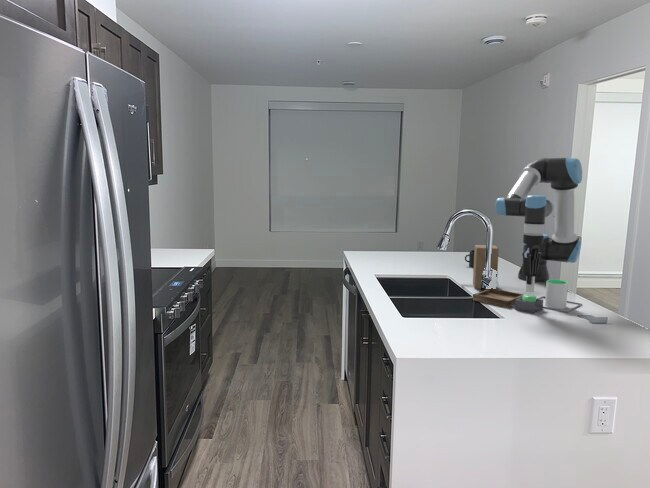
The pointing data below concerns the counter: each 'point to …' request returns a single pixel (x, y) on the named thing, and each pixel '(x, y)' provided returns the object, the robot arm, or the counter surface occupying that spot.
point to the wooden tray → (497, 297)
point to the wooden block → (483, 263)
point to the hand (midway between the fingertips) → (529, 291)
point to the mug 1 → (470, 258)
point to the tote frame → (562, 310)
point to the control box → (529, 305)
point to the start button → (529, 298)
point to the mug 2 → (556, 294)
